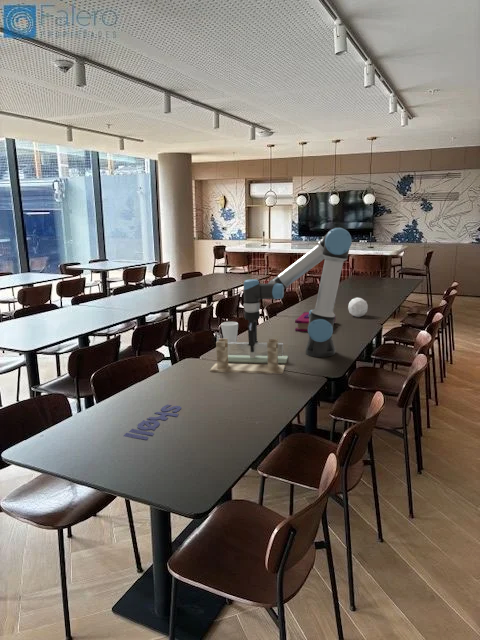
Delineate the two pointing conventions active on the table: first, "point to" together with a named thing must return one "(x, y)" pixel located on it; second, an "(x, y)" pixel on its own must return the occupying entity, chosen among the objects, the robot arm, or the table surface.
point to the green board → (254, 359)
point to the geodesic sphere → (357, 307)
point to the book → (304, 322)
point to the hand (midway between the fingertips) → (253, 356)
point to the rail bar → (244, 349)
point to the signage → (152, 419)
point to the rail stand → (247, 368)
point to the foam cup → (230, 331)
